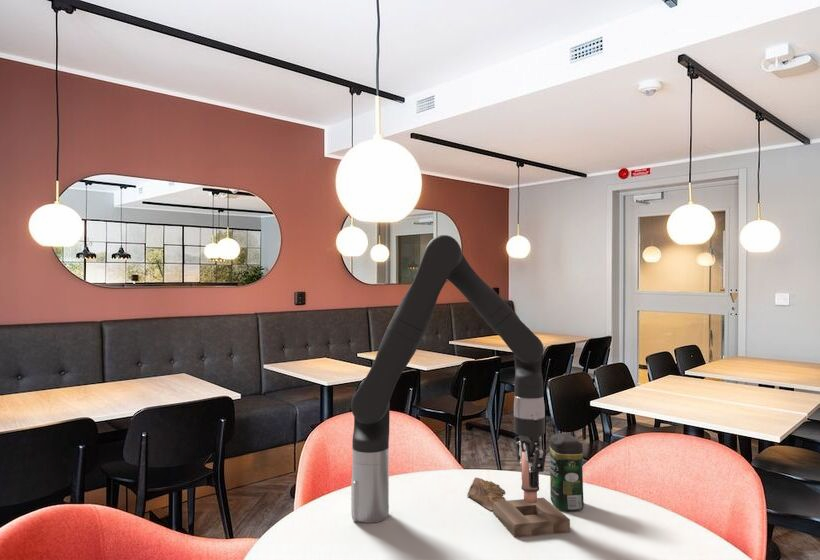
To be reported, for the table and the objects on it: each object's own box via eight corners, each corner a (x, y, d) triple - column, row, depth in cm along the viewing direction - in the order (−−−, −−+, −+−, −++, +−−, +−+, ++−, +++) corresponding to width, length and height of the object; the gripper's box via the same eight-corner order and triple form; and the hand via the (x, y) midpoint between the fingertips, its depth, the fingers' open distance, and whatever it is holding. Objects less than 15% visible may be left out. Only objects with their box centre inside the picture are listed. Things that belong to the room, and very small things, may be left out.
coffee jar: (547, 498, 149) (546, 430, 150) (575, 498, 149) (575, 430, 150) (556, 513, 140) (556, 440, 140) (587, 512, 140) (586, 440, 140)
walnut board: (514, 537, 126) (514, 524, 126) (493, 513, 139) (493, 501, 139) (570, 532, 129) (569, 519, 129) (543, 509, 142) (543, 497, 142)
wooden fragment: (513, 512, 141) (513, 508, 141) (471, 512, 141) (471, 508, 141) (498, 479, 166) (498, 475, 166) (462, 479, 166) (462, 475, 166)
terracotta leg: (525, 505, 132) (525, 455, 132) (518, 498, 136) (518, 450, 136) (542, 503, 132) (541, 454, 133) (534, 497, 137) (534, 449, 137)
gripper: (504, 409, 141) (505, 475, 140) (526, 421, 127) (527, 495, 126) (531, 407, 142) (532, 473, 142) (556, 420, 128) (557, 493, 128)
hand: (530, 483), depth 134 cm, fingers closed on terracotta leg, 4 cm apart
